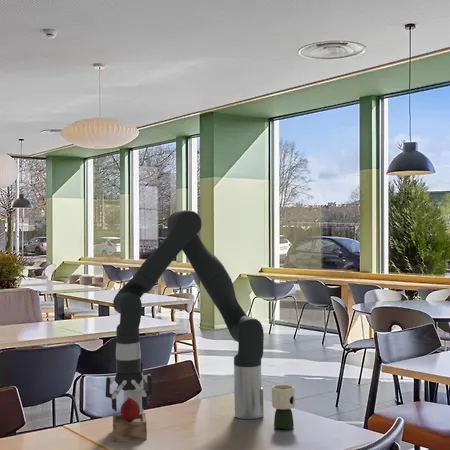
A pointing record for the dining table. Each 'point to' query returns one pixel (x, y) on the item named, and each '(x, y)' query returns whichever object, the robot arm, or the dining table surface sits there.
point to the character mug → (283, 405)
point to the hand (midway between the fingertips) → (129, 409)
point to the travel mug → (135, 394)
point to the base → (129, 428)
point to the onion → (130, 409)
